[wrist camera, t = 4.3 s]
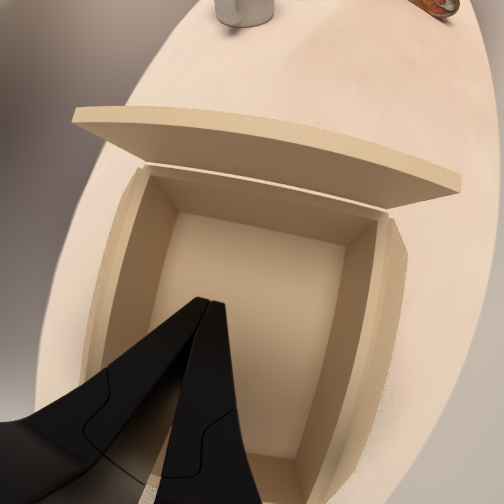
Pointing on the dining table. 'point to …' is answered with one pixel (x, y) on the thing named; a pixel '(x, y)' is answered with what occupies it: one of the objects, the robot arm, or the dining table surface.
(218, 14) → the cup
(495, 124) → the dining table surface
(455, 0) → the tin
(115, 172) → the dining table surface
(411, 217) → the dining table surface
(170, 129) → the flap
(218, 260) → the carton
